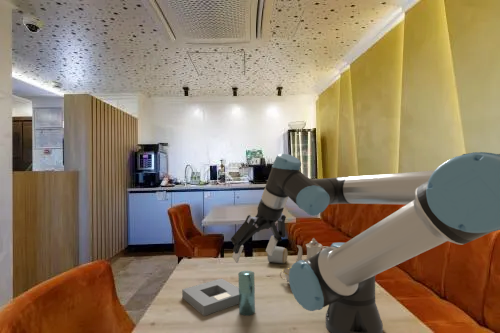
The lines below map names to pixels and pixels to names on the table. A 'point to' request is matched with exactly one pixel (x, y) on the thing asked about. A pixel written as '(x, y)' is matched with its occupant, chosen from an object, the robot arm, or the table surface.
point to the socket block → (208, 305)
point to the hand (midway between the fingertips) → (252, 256)
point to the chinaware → (311, 250)
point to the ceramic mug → (278, 255)
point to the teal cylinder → (246, 293)
